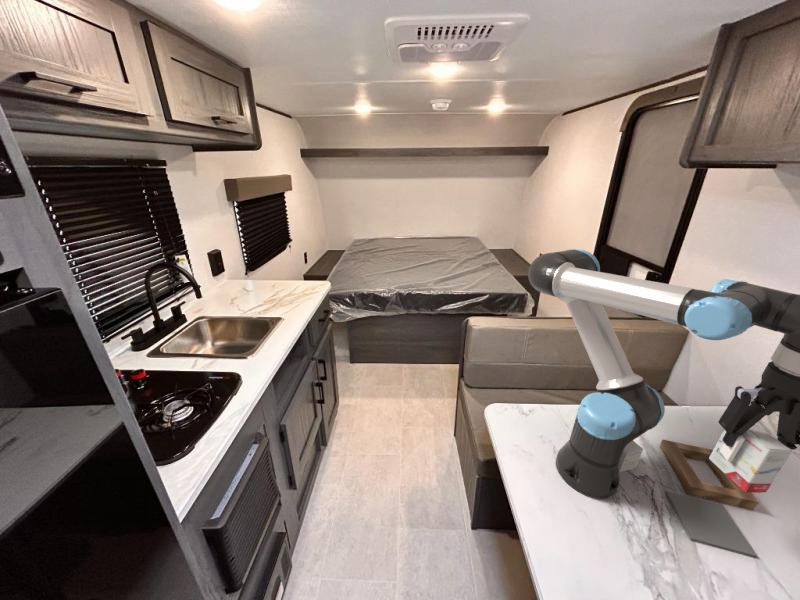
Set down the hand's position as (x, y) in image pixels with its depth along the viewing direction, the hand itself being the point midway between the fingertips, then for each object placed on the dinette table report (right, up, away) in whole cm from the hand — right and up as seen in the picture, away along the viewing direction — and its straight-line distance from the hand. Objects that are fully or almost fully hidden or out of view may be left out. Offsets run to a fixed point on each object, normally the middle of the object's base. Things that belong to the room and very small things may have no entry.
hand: (744, 460), depth 68 cm
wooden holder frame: (+9, -14, +20) cm, 26 cm away
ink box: (0, -4, +2) cm, 5 cm away
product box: (-11, -12, +23) cm, 29 cm away
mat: (-1, -19, +8) cm, 20 cm away
